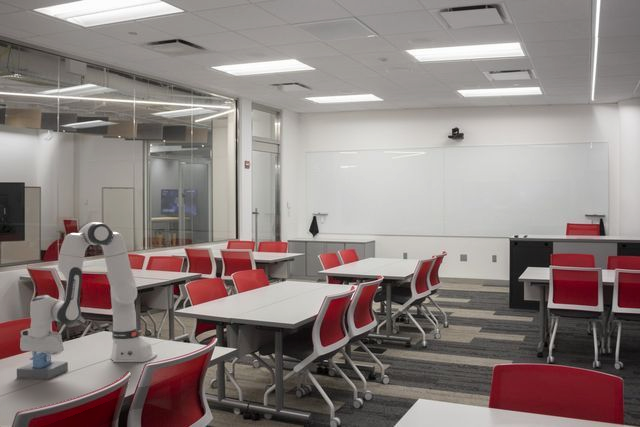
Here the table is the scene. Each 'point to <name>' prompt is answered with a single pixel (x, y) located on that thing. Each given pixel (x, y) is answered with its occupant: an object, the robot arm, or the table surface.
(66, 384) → the table surface
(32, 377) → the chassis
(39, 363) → the servo
